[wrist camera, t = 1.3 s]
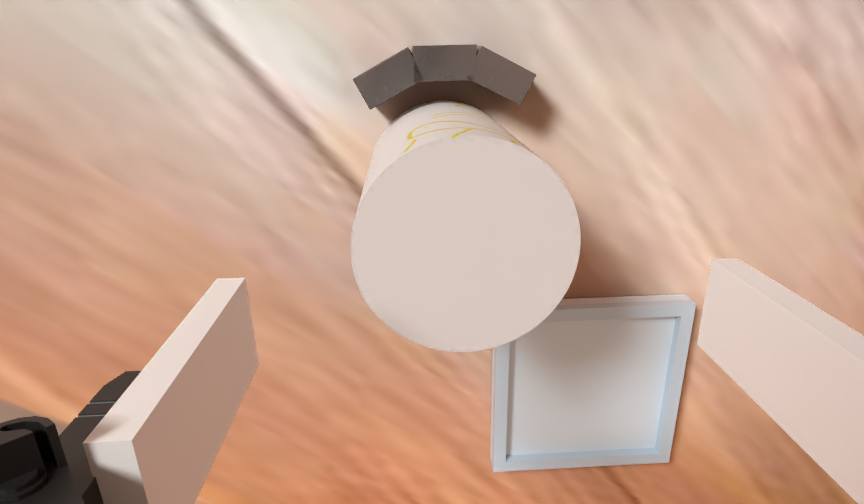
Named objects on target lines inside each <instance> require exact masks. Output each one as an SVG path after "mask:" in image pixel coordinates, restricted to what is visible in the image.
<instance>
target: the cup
mask: <svg viewBox="0 0 864 504" xmlns="http://www.w3.org/2000/svg"><path fill="white" fill-rule="evenodd" d="M580 246H581V233H580V224H579V218H578V214H577V211H576V207H575V204H574V202H573V200H572V197H571V195H570V193H569V191H568V189H567V188H566V186H565V185H564V183H563V182H562V180H561V179H560V178H559V176H558V175H557V174H556V173H555V172H554V171H553V169H552V168H551V167H550V166H548V165H547V164H546V163H545V162H544V161H543V160H542V159H540V158H539V157H538V156H537V155H536V154H534V153H533V152H532V151H531V150H530V149H528V148H527V147H526V146H525V145H524V144H522V143H521V142H520V141H519V140H517V139H516V138H515V137H514V136H513V135H511V134H510V133H509V132H508V131H507V130H505V129H504V128H503V127H502V126H501V125H499V124H498V123H497V122H496V121H494V120H493V119H492V118H491V117H490V116H488V115H487V114H486V113H484V112H483V111H481V110H479V109H477V108H476V107H473V106H471V105H468V104H465V103H462V102H457V101H449V100H439V101H431V102H426V103H423V104H420V105H417V106H415V107H412V108H410V109H408V110H407V111H405V112H403V113H402V114H401V115H399V116H398V117H397V118H396V119H394V120H393V121H392V122H391V123H390V124H389V125H388V127H387V128H386V129H385V130H384V132H383V133H382V135H381V136H380V138H379V140H378V142H377V144H376V147H375V149H374V152H373V156H372V159H371V163H370V166H369V170H368V173H367V177H366V181H365V184H364V188H363V191H362V195H361V198H360V202H359V205H358V209H357V213H356V216H355V220H354V224H353V228H352V234H351V248H350V249H351V262H352V268H353V273H354V276H355V279H356V282H357V285H358V287H359V290H360V292H361V294H362V296H363V298H364V299H365V301H366V303H367V304H368V305H369V307H370V308H371V310H372V311H373V312H374V313H375V314H376V316H377V317H378V318H379V319H380V320H381V321H382V322H383V323H384V324H386V325H387V326H388V327H389V328H390V329H392V330H393V331H395V332H396V333H398V334H399V335H401V336H402V337H404V338H406V339H408V340H410V341H412V342H414V343H417V344H419V345H422V346H425V347H429V348H432V349H437V350H442V351H450V352H470V351H479V350H485V349H490V348H494V347H497V346H500V345H503V344H506V343H508V342H510V341H513V340H515V339H517V338H519V337H521V336H522V335H524V334H526V333H527V332H529V331H531V330H532V329H533V328H535V327H536V326H537V325H539V324H540V323H541V322H542V321H543V320H544V319H545V318H546V317H547V316H548V315H550V313H551V312H552V311H553V310H554V309H555V308H556V306H557V305H558V304H559V303H560V301H561V300H562V298H563V297H564V295H565V294H566V292H567V290H568V288H569V286H570V284H571V282H572V280H573V277H574V274H575V272H576V268H577V265H578V260H579V255H580Z"/></svg>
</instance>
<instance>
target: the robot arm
mask: <svg viewBox="0 0 864 504" xmlns="http://www.w3.org/2000/svg"><path fill="white" fill-rule="evenodd" d="M697 344H698V345H699V346H700V347H701V348H702V349H703V350H704V351H705V352H706V353H707V354H708V355H709V356H710V357H711V358H712V359H713V360H714V361H715V362H716V363H717V364H718V365H719V366H720V367H721V368H722V369H723V370H724V371H725V372H726V373H727V374H728V375H729V376H730V377H731V378H732V379H733V380H734V381H735V382H736V383H737V384H738V385H739V386H740V387H741V388H742V389H743V390H744V391H745V392H746V393H747V394H748V395H749V396H750V397H751V398H752V399H753V400H754V401H755V402H756V403H757V404H758V405H759V406H760V407H761V408H762V409H763V410H764V411H765V412H766V413H767V414H768V415H769V416H770V417H771V418H772V419H773V420H774V421H775V422H776V423H777V424H778V425H779V426H780V427H781V428H782V429H783V430H784V431H785V432H786V433H787V434H788V435H789V436H790V437H791V438H792V439H793V440H794V441H795V442H796V443H797V444H798V445H799V446H800V447H801V448H802V449H803V450H804V451H805V452H806V453H807V454H808V455H809V456H810V457H811V458H812V459H813V460H814V461H815V462H816V463H817V464H818V465H819V466H820V467H821V468H822V469H823V470H824V471H825V472H826V473H827V474H828V475H829V476H830V477H831V478H832V479H833V480H834V481H835V482H836V483H837V484H838V485H839V486H840V487H841V488H842V489H843V490H844V491H845V492H846V493H847V494H848V495H849V496H850V497H851V498H853V499H854V500H855V501H856V502H857V503H858V504H864V336H863V335H862V334H860V333H858V332H857V331H855V330H854V329H852V328H850V327H849V326H847V325H845V324H844V323H842V322H841V321H839V320H837V319H836V318H834V317H832V316H831V315H829V314H828V313H826V312H824V311H823V310H821V309H820V308H818V307H816V306H815V305H813V304H811V303H810V302H808V301H807V300H805V299H803V298H802V297H800V296H798V295H797V294H795V293H794V292H792V291H790V290H789V289H787V288H785V287H784V286H782V285H781V284H779V283H777V282H776V281H774V280H772V279H771V278H769V277H768V276H766V275H764V274H763V273H761V272H759V271H758V270H756V269H755V268H753V267H751V266H750V265H748V264H746V263H745V262H743V261H742V260H740V259H738V258H728V259H711V265H710V271H709V277H708V283H707V288H706V294H705V300H704V306H703V312H702V318H701V324H700V329H699V335H698V341H697ZM258 365H259V363H258V356H257V350H256V343H255V337H254V330H253V324H252V318H251V311H250V305H249V298H248V292H247V285H246V279H245V278H225V279H217V280H216V281H215V282H214V283H213V284H212V286H211V287H210V288H209V289H208V290H207V292H206V293H205V294H204V295H203V297H202V298H201V299H200V300H199V301H198V303H197V304H196V305H195V306H194V308H193V309H192V310H191V311H190V312H189V314H188V315H187V316H186V317H185V319H184V320H183V321H182V322H181V323H180V325H179V326H178V327H177V328H176V330H175V331H174V332H173V333H172V334H171V336H170V337H169V338H168V339H167V341H166V342H165V343H164V344H163V345H162V347H161V348H160V349H159V350H158V352H157V353H156V354H155V355H154V356H153V358H152V359H151V360H150V361H149V363H148V364H147V365H146V366H145V367H144V369H143V370H142V371H127V372H124V373H123V374H121V375H120V376H118V377H117V378H115V379H114V380H112V381H110V382H109V383H107V384H106V385H104V386H103V387H102V389H101V390H100V391H99V392H98V393H97V394H96V395H95V396H94V397H93V399H92V400H91V401H90V404H87V405H86V406H85V408H84V409H83V410H82V411H81V412H80V413H79V414H78V418H75V419H74V420H73V421H72V422H71V423H70V424H69V425H68V427H67V428H66V429H65V430H64V431H63V432H62V434H60V436H58V432H57V429H56V426H55V424H54V423H53V422H52V421H51V420H50V419H48V418H44V417H37V416H33V417H24V418H17V419H13V420H10V421H6V422H3V423H0V504H194V503H195V501H196V499H197V497H198V495H199V493H200V490H201V488H202V486H203V484H204V482H205V480H206V477H207V475H208V473H209V471H210V469H211V467H212V464H213V462H214V460H215V458H216V456H217V454H218V451H219V449H220V447H221V445H222V443H223V441H224V438H225V436H226V434H227V432H228V430H229V428H230V425H231V423H232V421H233V419H234V417H235V415H236V412H237V410H238V408H239V406H240V404H241V402H242V399H243V397H244V395H245V393H246V391H247V389H248V386H249V384H250V382H251V380H252V378H253V376H254V373H255V371H256V369H257V367H258Z"/></svg>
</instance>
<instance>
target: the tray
mask: <svg viewBox="0 0 864 504" xmlns="http://www.w3.org/2000/svg"><path fill="white" fill-rule="evenodd" d="M695 308H696V303H695V302H693V301H692V300H691V299H690V298H689V297H688V296H687V295H686V294H670V295H646V296H622V297H598V298H574V299H562V300H561V301H560V303H559V304H558V305H557V306H556V308H555V309H554V310H553V311H552V312H551V313H550V315H548V316H547V317H546V318H545V319H544V320H543V321H542V322H541V323H540V324H539V325H537V326H536V327H535V328H533V329H532V330H531V331H529V332H527V333H526V334H524V335H522V336H521V337H519V338H517V339H515V340H513V341H510V342H508V343H506V344H503V345H500V346H497V347H494V348H493V354H492V400H491V445H490V458H491V463H492V468H493V472H502V471H521V470H539V469H558V468H576V467H595V466H613V465H632V464H650V463H669V459H670V453H671V447H672V441H673V436H674V430H675V424H676V418H677V412H678V407H679V401H680V395H681V389H682V383H683V378H684V372H685V366H686V360H687V354H688V349H689V343H690V337H691V331H692V325H693V319H694V314H695Z"/></svg>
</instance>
